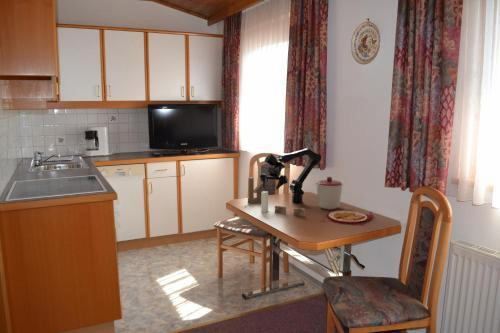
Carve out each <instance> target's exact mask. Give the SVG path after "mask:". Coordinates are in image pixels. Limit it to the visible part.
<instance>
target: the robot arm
mask: <svg viewBox="0 0 500 333" xmlns="http://www.w3.org/2000/svg"><path fill="white" fill-rule="evenodd" d="M304 156H307V157H308V162H307V164H306V165H305V167H304V168H303V169H302V171H301V173H300V174H299V175H298V177H297V179H292V180H291V182H290V183H289V190H290V192H291V193H292V196H291V203H293V204H304V202H303V195H304V194H305V191H304V190H303V189H302V188H303V184H304V181H305V180H306V179H307V178H308V176H309V175H310V173H311V171H312V170H313V169H314V167H315V166H317V165H318V164H319V163H320V162H321V161H322V159H323V158H322V155H321V154H320V153H316V152H315V151H313V150H311V149H310V148H307V147H306V148H304V149H301V150H296V151H293V152H290V153H288V152H287V153H280V154H279V155H278V156H274V155H273V154H272V153H269V154H268V155H267V156H266V157H265V158H264V162H265V163H266V164H267V165H269V167H268V168H267V173H268V174H267V173H260V175H259V178H260V180H261V182H263V189H265V188H266V187H267V184H268V181H269V180H271V181H273V180H274V181H278V182H277V184H276V188H275V190H276V191H278V190H279V188H281V187H282V186H284V185H286V184H288V182H289V179H288V176H287V175H283V174H282V170H283V169H285V168H286V165H285V164H287V163H289V162H291V161H292V160H294V159H297V158H300V157H304Z"/></svg>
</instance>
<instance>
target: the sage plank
mask: <svg viewBox="0 0 500 333" xmlns="http://www.w3.org/2000/svg"><path fill="white" fill-rule="evenodd" d="M260 203H261V204H260V205H261V206H260V207H261V208H260V209H261V210H260V212H261V213H267V212H269V191H265V190H263V192H261V202H260Z"/></svg>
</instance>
